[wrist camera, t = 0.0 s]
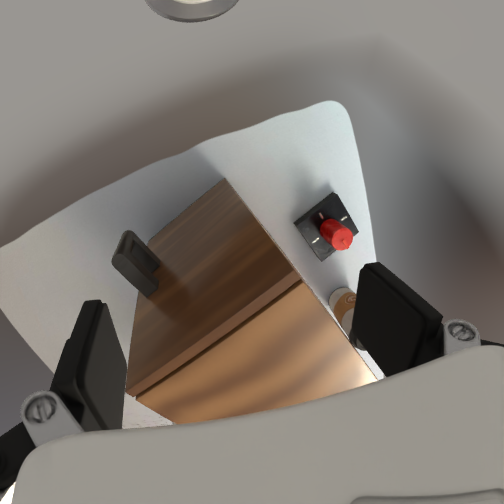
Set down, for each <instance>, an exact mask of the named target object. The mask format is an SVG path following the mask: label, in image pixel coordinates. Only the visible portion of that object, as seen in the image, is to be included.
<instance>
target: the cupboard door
mask: <svg viewBox="0 0 504 504" xmlns="http://www.w3.org/2000/svg"><path fill="white" fill-rule="evenodd" d="M112 265H113V266H114V267H115V269H117V270H118V271H119V272H120V273H121V274H122V275H123V276H124V277H125V278H126V279H127V280H128V281H129V282H130V283H131V284H132V285H133V286H134V287H135V288H136V289H138V290H139V293H138V298H137V304H136V310H135V317H134V323H133V330H132V337H131V345H130V352H129V361H128V369H127V378H126V389H125V392H126V393H128V394H129V395H131V396H132V397H134V396H136V395H137V394H139V393H141V392H142V391H144V390H145V389H147V388H148V387H150V386H151V385H153V384H154V383H156V382H157V381H159V380H160V379H162V378H163V377H165V376H166V375H168V374H169V373H171V372H172V371H174V370H175V369H177V368H178V367H179V366H181V365H182V364H184V363H185V362H187V361H188V360H190V359H191V358H193V357H194V356H195V355H197V354H198V353H200V352H201V351H203V350H204V349H205V348H207V347H208V346H210V345H211V344H213V343H214V342H215V341H217V340H218V339H220V338H221V337H222V336H224V335H225V334H227V333H228V332H229V331H231V330H232V329H234V328H235V327H236V326H238V325H239V324H241V323H242V322H243V321H245V320H246V319H247V318H249V317H250V316H251V315H253V314H254V313H256V312H257V311H258V310H260V309H261V308H262V307H264V306H265V305H266V304H268V303H269V302H270V301H272V300H273V299H274V298H276V297H277V296H278V295H280V294H281V293H282V292H284V291H285V290H286V289H288V288H289V287H290V286H292V285H293V284H294V283H296V282H297V281H298V280H299V279H301V277H300V276H299V275H298V273H297V272H296V270H295V269H294V268H293V266H292V265H291V264H290V262H289V261H288V260H287V258H286V257H285V256H284V254H283V253H282V252H281V250H280V249H279V248H278V246H277V245H276V244H275V242H274V241H273V240H272V239H271V237H270V236H269V235H268V233H267V232H266V231H265V229H264V228H263V227H262V225H261V224H260V223H259V221H258V220H257V219H256V217H255V216H254V215H253V214H252V212H251V211H250V210H249V208H248V207H247V206H246V204H245V203H244V202H243V201H242V199H241V198H240V197H239V195H238V194H237V193H236V191H235V190H234V189H233V188H232V186H231V185H230V184H229V182H228V181H227V180H226V179H225V178H224V179H223V180H222V181H220V182H219V183H218V184H217V185H215V186H214V187H213V188H212V189H210V190H209V191H208V192H207V193H205V194H204V195H203V196H202V197H200V198H199V199H198V200H197V201H195V202H194V203H193V204H192V205H191V206H189V207H188V208H187V209H186V210H185V211H183V212H182V213H181V214H180V215H179V216H177V217H176V218H175V219H174V220H173V221H171V222H170V223H169V224H168V225H167V226H166V227H164V228H163V229H162V230H161V231H160V232H159V233H157V234H156V235H155V236H154V237H153V238H152V239H151V240H149V241H148V246H146V245H145V244H144V243H143V242H142V241H141V239H140V238H139V237H138V236H137V235H136V234H135V233H134V232H133V231H130V230H127V231H125V232H124V233H123V234H122V236H121V239H120V241H119V243H118V246H117V248H116V250H115V253H114V255H113V258H112Z"/></svg>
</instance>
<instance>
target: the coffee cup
mask: <svg viewBox="0 0 504 504" xmlns="http://www.w3.org/2000/svg"><path fill="white" fill-rule="evenodd" d="M355 301H356V294H355V293H354V292H353V291H352V290H351V289H349V288H345V287H343V288H339V289H337V290H335V291H334V292H333V293H332V294H331V296H330V299H329V306H330V308H331V310H332V312H333V313H334V315H335V317H336V319H337V320H338V322H339V324H340V325H341V327H342V328H343V330H344V331H345V333H346V334H347V336H348V338H349V340H350V342H351V344H352V345H354V347H356V348H358V349H360V350H363V351H366V349H365V348H364V346H363V345H362V344H361V343H360V341H359V340H358V339H357V337H356V336H355V335H354V333H353V331H352V319H353V313H354V307H355Z"/></svg>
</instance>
